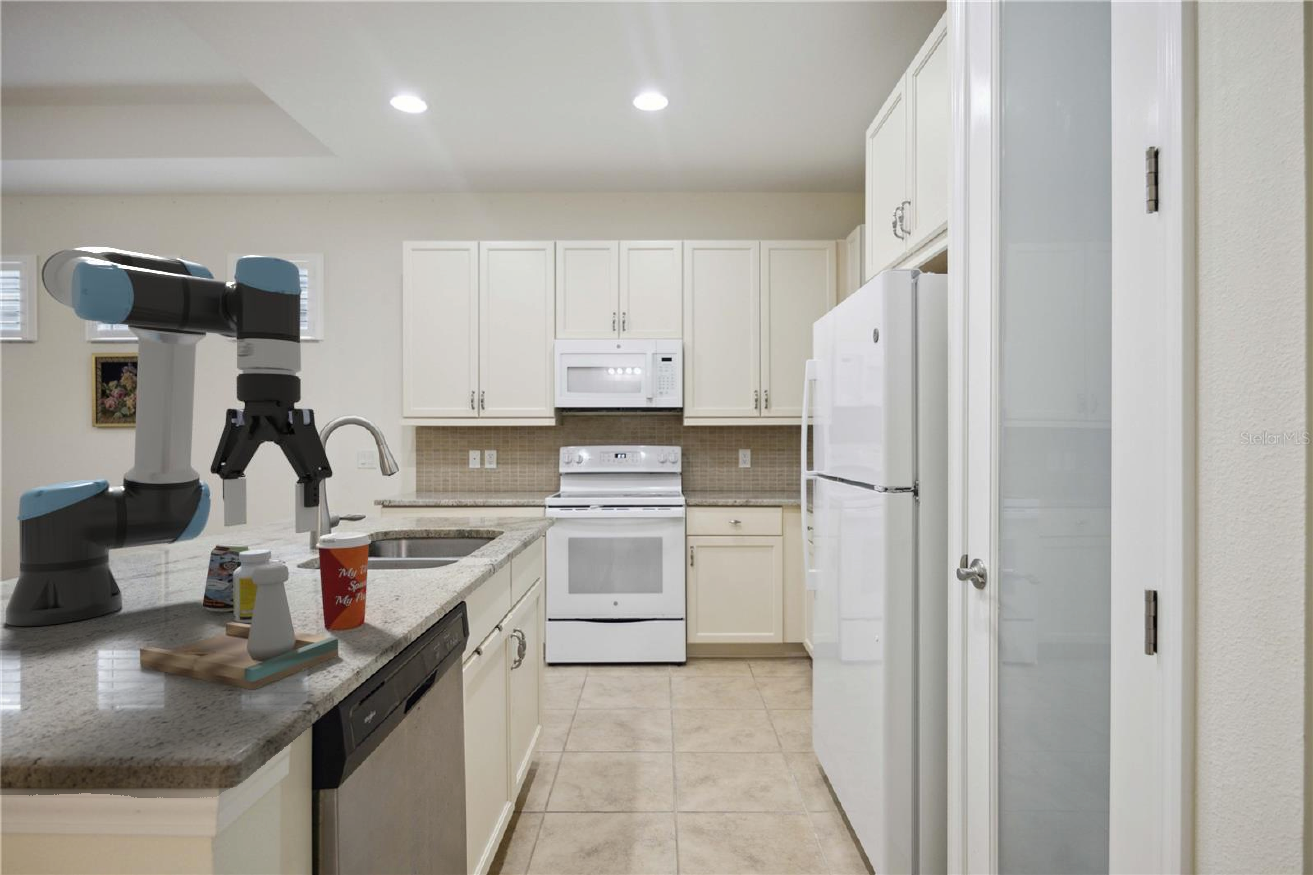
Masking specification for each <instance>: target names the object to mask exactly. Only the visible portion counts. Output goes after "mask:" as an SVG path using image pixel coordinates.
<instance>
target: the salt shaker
mask: <svg viewBox="0 0 1313 875" xmlns="http://www.w3.org/2000/svg"><path fill="white" fill-rule="evenodd" d="M289 575H290V574H289V568H288V566H286V564H282V563H271V564H267V565H262V566H259V567H257V568H256V569H255V570H254V571H253V576H252V577H253V583H254V584H256V585H258V587H257V593H256V599H255V604H254V610H253V615H252V621H251V623H250V625H251V626H250V632H249V637H248V642H247V650H248V652H249V654H250V656H251V658H252V660H256V661H261V662H264V661H266V660H269V659H272V658H275V657H277V656H280V655H283V654H286V653H288V652H291V651H292V649H293V647H294V645H295V640H296V639H295V634H294V632H295V629H294V626H293V625H294V624H293V620H292V615H291V612H290V607H289V602H288V597H287V592H286V587H285V582H287V581H288V580H289Z"/></svg>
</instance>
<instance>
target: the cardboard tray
mask: <svg viewBox="0 0 1313 875" xmlns="http://www.w3.org/2000/svg"><path fill="white" fill-rule="evenodd" d="M250 626H251V624H249V623H239V622H236V621H231V622H227V623H225V633H223V634H219V635H216V636H212V637H210V638H207V639H202V640H199V641H196V642H194V643H190V644H186V645H183V646H179V647H177V648H174V649H164V648H159V647H154V646H148V645H147V646H145V647H144V646H143V647H141V648H139V667H141V668H145V669H149V670H154V671H159V672H164V673H169V674H174V675H179V676H184V677H189V678H194V679H199V680H204V681H208V682H213V683H216V684H217V683H218V684H223V685H227V686H233V687H237V688H241V689H247V690H253V691H254V690H257V689H259V688H261V687H264V686H266V685H269V684H271V683H274V682H276V681H279V680H281V678H282V679H283V678H287V677H288V676H291V675H293V673H294V674H296V673H299V672H301V671H304V670H306V669H308V668H311V667H314V666H316V665H319V664H321V663H324V662H325V661H328V660H331V659H333V658H336V657H339V638H337V637H332V636H331V637H330V636H324V635H317V634H311V633H305V632H299V631H294V634H295V639H296V640H295V645H294V647H293V649H292V651H291V652H288V653H286V654H283V655H280V656H277V657H275V658H272V659H269V660H266V661H264V662H261V661H256V660H252V658H251V656H250V654H249V652H248V650H247V642H248V637H249V632H250ZM303 669H304V670H303Z"/></svg>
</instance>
